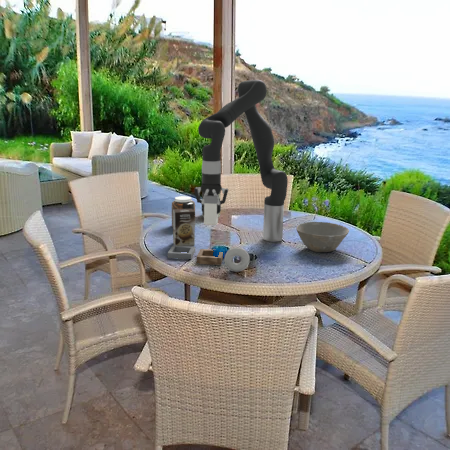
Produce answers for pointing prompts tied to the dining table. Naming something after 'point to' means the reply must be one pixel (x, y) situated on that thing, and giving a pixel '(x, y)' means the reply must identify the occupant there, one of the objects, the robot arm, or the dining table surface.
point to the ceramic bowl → (321, 235)
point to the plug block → (210, 210)
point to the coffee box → (183, 227)
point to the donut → (236, 252)
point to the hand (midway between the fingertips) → (211, 212)
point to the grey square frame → (176, 251)
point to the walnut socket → (209, 257)
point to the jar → (182, 204)
